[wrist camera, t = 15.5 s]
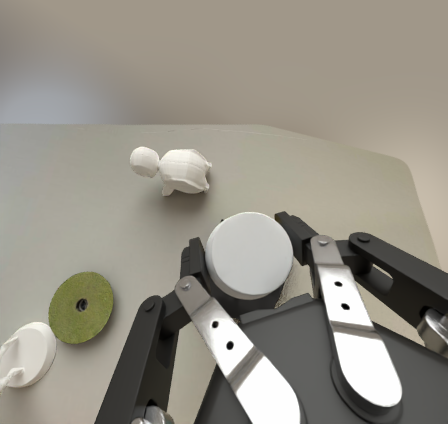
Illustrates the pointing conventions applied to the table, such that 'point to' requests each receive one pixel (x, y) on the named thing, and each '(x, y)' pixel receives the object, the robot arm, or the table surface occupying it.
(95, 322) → the mat
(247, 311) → the pad
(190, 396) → the table surface
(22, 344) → the figurine
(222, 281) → the pill bottle
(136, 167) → the white chubby doll
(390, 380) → the robot arm
